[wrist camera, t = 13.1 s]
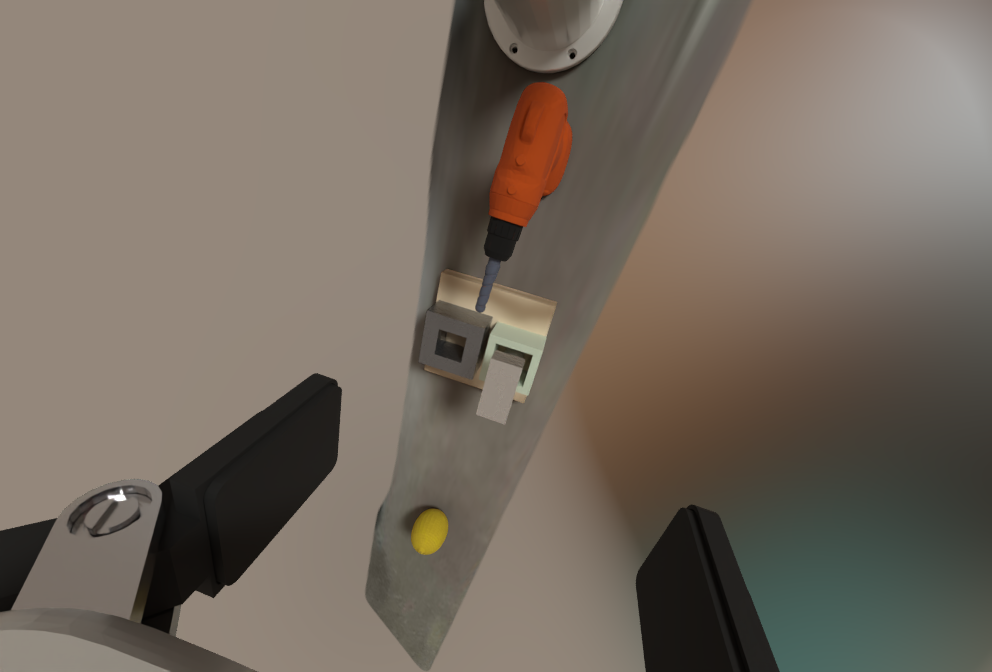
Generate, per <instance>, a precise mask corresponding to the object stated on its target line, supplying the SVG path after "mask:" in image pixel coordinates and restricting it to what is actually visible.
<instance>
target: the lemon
mask: <svg viewBox="0 0 992 672" xmlns="http://www.w3.org/2000/svg"><path fill="white" fill-rule="evenodd" d="M447 532H448V520H447V517H446V516H445V514H444V513H443V512H442V511H440V510H439V509H428V510H426V511H424V512H422V513H421V514H420V516H419V517H418V518H417V519H416V521H415V523H414V526H413V529H412V533H411V542H412V545H413V547H414V549H415V550H416V551H417V552H419V553H420V554H425V555H427V554H432V553H434V552H435V551H437V550H438V549H439V548H440V546H441V545H442V544H443V542H444V540H445V538H446V536H447Z"/></svg>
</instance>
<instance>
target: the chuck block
mask: <svg viewBox="0 0 992 672" xmlns="http://www.w3.org/2000/svg"><path fill="white" fill-rule="evenodd" d="M492 319H493V317H492V316H489V315H486V314H483V313H479V312H476V311H473V310H470V309H467V308H463V307H460V306H457V305H454V304H451V303H448V302H444V301H441V300H439V301H438V302H436V303H435V304H434V305H433V306H432V307H431V308H429V309H428V310H427V313H426V319H425V325H424V331H423V337H422V343H421V349H420V355H419V361H418V362H419V363H422V364H425V365H428V366H431V367H434V368H437V369H440V370H443V371H446V372H449V373H452V374H455V375H458V376H461V377H464V378H467V379H470V380H473V378H474V376H475V375H476V373H477V371H478V369H479V367H480V366H481V362H482V359H483V355H484V351H485V347H486V343H487V339H488V335H489V331H490V327H491V323H492ZM447 332H450V333H453V334H456V335H459V336H462V337H465V338H467V339H466V344H465V347H463V346H460V345H457V344H454V343H451V342H448V341H446V337H447Z"/></svg>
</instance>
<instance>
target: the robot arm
mask: <svg viewBox="0 0 992 672" xmlns="http://www.w3.org/2000/svg"><path fill="white" fill-rule="evenodd" d="M622 3H623V0H484V7H485V13H486V17H487V21H488V25H489V27H490V30H491V32H492V34H493V36H494V39H495V40H496V42H497V43H498V45H499V47H500V48H501V49H502V51H503V52H504V53H505V54H506V55H507V57H508V58H510V59H511V60H512V61H513V62H515V63H516V64H517V65H519V66H521V67H523V68H525V69H527V70H529V71H533V72H538V73H556V72H560V71H564V70H567V69H569V68H571V67H574V66H576V65H578V64H579V63H581V62H582V61H584V60H585V59H586V58H588V57H589V56H590V55H591V54H592V53H593V52H594V51H595V50H596V49H597V48H598V47H599V46H600V45H601V44H602V42H603V41H604V40H605V38H606V37H607V35H608V34H609V33H610V31H611V29H612V27H613V25H614V23H615V21H616V19H617V17H618V15H619V12H620V9H621V6H622ZM515 48H517V49H518V51H517V53H515V54H514V53H513V50H514V49H515ZM571 54H575V58H574V59H570V55H571ZM341 395H342V389H341V388H340V387H338V383H337V381H336V380H335V379H331V378H329V377H326V376H323V375H320V374H318V373H317V374H313V375H311V376H310V377H308V378H307V379H306V380H304V381H303V382H301V383H300V384H299V385H297V386H296V387H295V388H293V389H292V390H291V391H289V392H288V393H286V394H285V395H284V396H282V397H281V398H280V399H278V400H277V401H276V402H274V403H273V404H272V405H270V406H269V407H267V408H266V409H265V410H263V411H261V412H259V413H257V414H256V415H255V416H253V417H252V418H250V419H249V420H248V421H246V422H245V423H244V424H242V425H241V426H239V427H238V428H237V429H235V430H234V431H233V432H231V433H230V434H229V435H227V436H226V437H225V438H223V439H222V440H220V441H219V442H218V443H216V444H215V445H213V446H212V447H211V448H209V449H208V450H207V451H205V452H204V453H202V454H201V455H200V456H198V457H197V458H196V459H194V460H193V461H192V462H190V463H189V464H187V465H186V466H185V467H183V468H182V469H181V470H179V471H178V472H177V473H175V474H174V475H172V476H171V477H170V478H168V479H167V480H165V481H164V482H163V483H161V484H160V485H159V486H158V485H156V484H154V483H152V482H150V481H147V480H141V479H130V480H121V481H117V482H112V483H108V484H105V485H103V486H100V487H98V488H96V489H93V490H91V491H89V492H87V493H86V494H84V495H82V496H81V497H79V498H77V499H76V500H74V501H73V502H72V503H71V504H70V505H69V506H68V507H66V508H65V509H64V510H63V511H62V513H61V514H60V516H59V517H58V518H56V519H51V520H46V521H42V522H38V523H33V524H29V525H24V526H20V527H15V528H11V529H7V530H3V531H0V672H257V671H255V670H253V669H250V668H248V667H246V666H244V665H241V664H239V663H237V662H235V661H232V660H230V659H227V658H225V657H223V656H220V655H218V654H216V653H213V652H211V651H208V650H206V649H203V648H201V647H199V646H196V645H194V644H191V643H189V642H186V641H184V640H181V639H179V638H177V637H176V631H177V626H178V620H179V615H180V609H181V604H183V603H184V602H185V601H186V599H187V598H189V596H190V595H191V594H192V593H193V592H194V591H195V590H196V591H199V592H201V593H203V594H205V595H208V596H210V597H212V598H214V597H215V596H216V594H218V593H219V592H220V590H221V589H222V588H223V587H224V586H225V585H227V586H230V585H232V584H233V583H235V582H236V581H237V580H238V579H239V578H240V576H241V575H242V574H243V573H244V572H245V571H246V570H247V568H248V567H249V566H250V565H251V564H252V563H253V561H254V560H255V559H256V558H257V557H258V556H259V554H260V553H261V552H262V551H263V550H264V549H265V548H266V546H267V545H268V544H269V543H270V542H271V541H272V539H273V538H274V537H275V536H276V535H277V534H278V532H279V531H280V530H281V529H282V528H283V527H284V525H285V524H286V523H287V522H288V521H289V519H290V518H291V517H292V516H293V515H294V514H295V513H296V511H297V510H298V509H299V508H300V507H301V506H302V504H303V503H304V502H305V501H306V500H307V499H308V497H309V496H310V495H311V494H312V493H313V492H314V491H315V489H316V488H317V487H318V486H319V485H320V483H321V482H322V481H323V480H324V479H325V478H326V476H327V475H328V474H329V473H330V472H331V471H332V469H333V468H334V466H335V464H336V461H337V456H338V441H339V424H340V411H341ZM636 590H637V599H638V608H639V616H640V625H641V634H642V641H643V650H644V660H645V668H646V672H779V669H778V667H777V664H776V661H775V658H774V656H773V653H772V651H771V648H770V645H769V643H768V640H767V638H766V635H765V632H764V630H763V627H762V625H761V622H760V619H759V617H758V614H757V612H756V609H755V606H754V604H753V601H752V598H751V596H750V594H749V592H748V590H747V587H746V585H745V582H744V579H743V577H742V574H741V572H740V569H739V566H738V564H737V561H736V558H735V556H734V553H733V550H732V548H731V545H730V543H729V540H728V537H727V535H726V532H725V530H724V527H723V524H722V522H721V519H720V517H719V515H718V514H717V513H716V512H712V511H710V510H707V509H704V508H701V507H698V506H695V505H689V506H688V507H687V508H681V509H680V510H679V511H678V512H677V514H676V515H675V517H674V518H673V520H672V521H671V523H670V524H669V526H668V527H667V529H666V530H665V532H664V533H663V535H662V536H661V538H660V539H659V541H658V542H657V544H656V545H655V546H654V548H653V549H652V551H651V552H650V554H649V556H648V557H647V558H646V560H645V562H644V563H643V564H642V566H641V567H640V569H639V571H638V574H637V577H636Z"/></svg>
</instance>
